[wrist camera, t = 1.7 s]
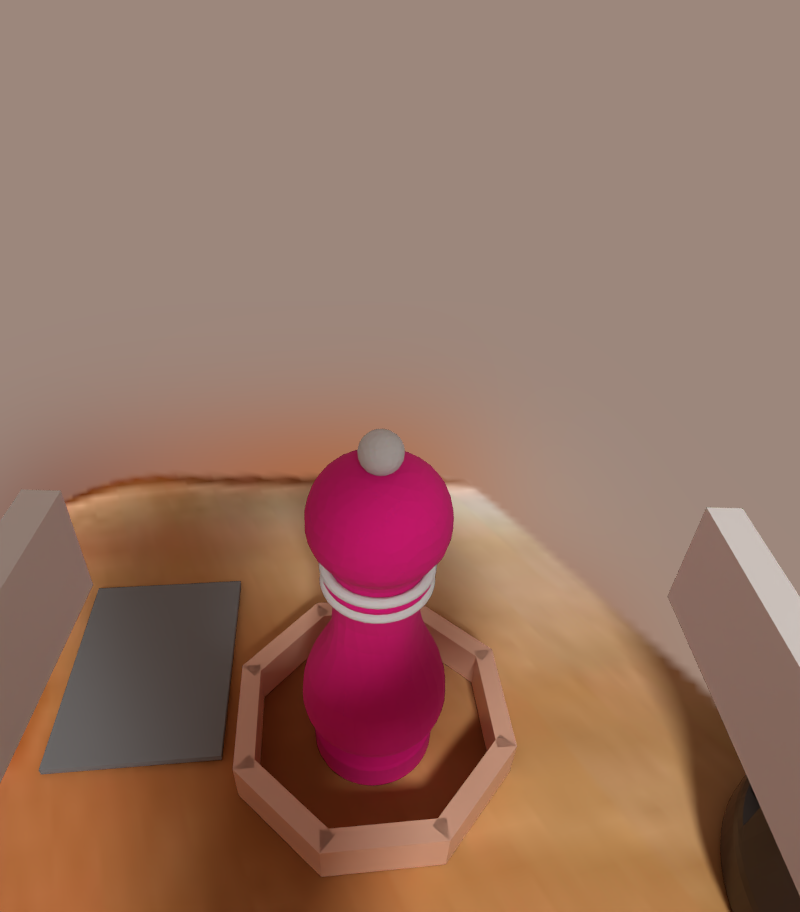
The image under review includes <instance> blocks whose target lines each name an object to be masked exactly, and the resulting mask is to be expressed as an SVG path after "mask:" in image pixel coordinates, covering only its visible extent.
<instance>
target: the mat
mask: <svg viewBox="0 0 800 912" xmlns="http://www.w3.org/2000/svg"><path fill="white" fill-rule="evenodd" d="M240 591H241V581H232V582H213V583H194V584H175V585H156V586H136V587H117V588H99V590H98V593H97V596H96V599H95V602H94V605H93V608H92V611H91V614H90V617H89V620H88V623H87V626H86V629H85V632H84V635H83V638H82V641H81V644H80V647H79V650H78V653H77V656H76V659H75V662H74V665H73V668H72V671H71V674H70V677H69V680H68V683H67V686H66V690H65V693H64V696H63V699H62V702H61V705H60V708H59V711H58V714H57V717H56V720H55V723H54V726H53V729H52V732H51V735H50V738H49V741H48V744H47V747H46V750H45V753H44V756H43V759H42V762H41V765H40V768H39V772H40V773H41V774H51V773H63V772H75V771H88V770H100V769H112V768H125V767H137V766H149V765H162V764H174V763H186V762H199V761H211V760H222V755H223V746H224V737H225V727H226V718H227V709H228V700H229V691H230V682H231V673H232V664H233V655H234V645H235V636H236V627H237V618H238V609H239V600H240Z"/></svg>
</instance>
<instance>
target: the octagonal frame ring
mask: <svg viewBox="0 0 800 912" xmlns="http://www.w3.org/2000/svg"><path fill="white" fill-rule="evenodd" d="M420 612H421V616H422V619H423V621H424V623H425V625H426V627H427V629H428V630H429V632H430V634H431V635H432V637H433V639H434V640H435V643H436V645H437V647H438V649H439V653H440V656H441V659H442V662H443V663H444V664H446V665H447V666H449V667H450V668H451V669H453V670H454V671H456V672H457V673H459V674H460V675H462V676H463V677H465V678H466V679H467V680H469V681H470V682H472V687H473V691H474V696H475V701H476V705H477V710H478V714H479V719H480V723H481V728H482V733H483V737H484V742H485V746H486V751H487V752H486V754H485V755H484V756H483V758H482V759H481V761H480V762H479V763H478V765H477V766H476V767H475V769H474V770H473V771H472V773H471V774H470V775H469V777H468V778H467V780H466V781H465V782H464V784H463V785H462V786H461V788H460V789H459V790H458V792H457V793H456V794H455V796H454V797H453V799H452V800H451V801H450V803H449V804H448V805H447V807H446V808H445V809H444V811H443V812H442V813H441V815H440V816H439V818H437V819H426V820H416V821H405V822H394V823H384V824H373V825H363V826H352V827H341V828H331V829H328V828H327V827H326V826H325V825H324V824H323V823H322V822H321V821H320V820H319V819H318V818H316V817H315V816H314V815H313V814H312V813H311V812H310V811H309V810H308V809H307V808H306V807H305V806H304V805H303V804H302V803H300V802H299V801H298V800H297V799H296V798H295V797H294V796H293V795H292V794H291V793H290V792H289V791H288V790H287V789H285V788H284V787H283V786H282V785H281V784H280V783H279V782H278V781H277V780H276V779H275V778H274V777H273V776H272V775H270V774H269V773H268V772H267V771H266V770H265V769H264V768H263V767H262V766H261V765H260V761H261V745H262V729H263V713H264V697H265V696H266V695H267V694H268V693H270V692H271V691H272V690H273V689H274V688H275V687H276V686H277V685H278V684H280V683H281V682H282V681H283V680H284V679H285V678H286V677H287V676H288V675H289V674H291V673H292V672H293V671H294V670H295V669H296V668H297V667H298V666H299V665H301V664H302V663H303V662H304V661H305V660H306V659H307V658H308V656H309V654H310V652H311V649H312V647H313V645H314V643H315V641H316V639H317V638H318V636H319V635H320V633H321V632H322V631H323V629H324V628H325V627H326V625H327V624H328V623H329V621H330V620H331V618H332V606H331V605H330V604H329V603H328V602H327V603H317V604H315V605H314V606H313V607H312V608H311V609H309V610H308V611H307V612H306V613H305V614H303V615H302V616H301V617H300V618H299V619H297V620H296V621H295V622H294V623H293V624H292V625H290V626H289V627H288V628H287V629H286V630H284V631H283V632H282V633H281V634H280V635H278V636H277V637H276V638H275V639H274V640H272V641H271V642H270V643H269V644H268V645H267V646H265V647H264V648H263V649H262V650H261V651H259V652H258V653H257V654H256V655H255V656H253V657H252V658H251V659H250V660H249V661H247V662H246V663H245V664H244V665H243V666H242V677H241V687H240V698H239V708H238V719H237V729H236V740H235V750H234V761H233V774H234V778H235V783H236V787H237V792H238V795H239V796H240V797H241V798H242V799H243V800H244V801H245V802H246V803H247V804H248V805H249V806H250V807H251V808H252V809H253V810H254V811H255V812H256V813H257V814H258V815H259V816H260V817H261V818H262V819H263V820H264V821H265V822H266V823H267V824H268V825H269V826H270V827H271V828H272V829H273V830H274V831H275V832H276V833H277V834H278V835H279V836H280V837H281V838H282V839H283V840H284V841H286V842H287V843H288V844H289V845H290V846H291V847H292V848H293V849H294V850H295V851H296V852H297V853H298V854H299V855H300V856H301V857H302V858H303V859H304V860H305V861H306V862H307V863H308V864H309V865H310V866H311V867H312V868H313V869H314V870H315V871H316V872H317V873H318V874H319V875H320V876H321V877H325V876H335V875H345V874H354V873H364V872H374V871H384V870H394V869H404V868H413V867H423V866H433V865H443V864H446V863H447V862H448V860H449V859H450V857H451V856H452V854H453V853H454V851H455V850H456V849H457V847H458V846H459V844H460V843H461V841H462V840H463V838H464V837H465V836H466V834H467V833H468V831H469V830H470V828H471V827H472V825H473V824H474V822H475V821H476V820H477V818H478V817H479V815H480V814H481V812H482V811H483V809H484V808H485V807H486V805H487V804H488V802H489V801H490V799H491V798H492V796H493V795H494V793H495V792H496V791H497V789H498V788H499V786H500V785H501V783H502V782H503V780H504V779H505V777H506V776H507V775H508V773H509V772H510V769H511V766H512V762H513V758H514V755H515V751H516V748H517V744H516V740H515V737H514V733H513V729H512V725H511V721H510V717H509V713H508V709H507V706H506V702H505V698H504V694H503V690H502V686H501V682H500V679H499V675H498V671H497V667H496V663H495V659H494V655H493V651H492V649H491V648H489V647H488V646H486V645H485V644H483V643H482V642H480V641H479V640H477V639H475V638H474V637H472V636H471V635H469V634H468V633H466V632H465V631H463V630H462V629H460V628H458V627H457V626H455V625H454V624H452V623H451V622H449V621H448V620H446V619H445V618H443V617H441V616H440V615H438V614H437V613H435V612H434V611H432V610H431V609H429V608H428V607H426V606H423V607H422V608H421V609H420Z"/></svg>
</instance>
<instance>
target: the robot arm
mask: <svg viewBox="0 0 800 912" xmlns="http://www.w3.org/2000/svg"><path fill="white" fill-rule="evenodd" d="M92 586H93V583H92V580H91V577H90V575H89V572H88V569H87V566H86V563H85V560H84V557H83V554H82V551H81V548H80V545H79V542H78V540H77V537H76V534H75V531H74V528H73V525H72V522H71V519H70V516H69V513H68V510H67V507H66V504H65V502H64V499H63V496H62V493H61V491H54V490H52V491H51V490H21V491H20V493H19V494H18V495H17V497H16V498H15V500H14V501H13V503H12V504H11V506H10V507H9V509H8V510H7V511H6V513H5V514H4V516H3V517H2V519H1V520H0V782H1V780H2V778H3V776H4V774H5V772H6V770H7V767H8V765H9V763H10V761H11V759H12V757H13V755H14V752H15V750H16V748H17V746H18V744H19V742H20V740H21V737H22V735H23V733H24V731H25V729H26V727H27V725H28V723H29V720H30V718H31V716H32V714H33V712H34V710H35V708H36V705H37V703H38V701H39V699H40V697H41V695H42V693H43V691H44V688H45V686H46V684H47V682H48V680H49V678H50V676H51V673H52V671H53V669H54V667H55V665H56V663H57V661H58V658H59V656H60V654H61V652H62V650H63V648H64V646H65V644H66V641H67V639H68V637H69V635H70V633H71V631H72V629H73V626H74V624H75V622H76V620H77V618H78V616H79V614H80V612H81V609H82V607H83V605H84V603H85V601H86V599H87V597H88V594H89V592H90V590H91V588H92ZM668 598H669V601H670V603H671V605H672V607H673V610H674V612H675V614H676V616H677V618H678V621H679V623H680V626H681V628H682V630H683V632H684V635H685V637H686V639H687V641H688V644H689V646H690V648H691V650H692V652H693V655H694V657H695V659H696V662H697V664H698V666H699V668H700V671H701V673H702V675H703V678H704V680H705V682H706V684H707V687H708V689H709V691H710V694H711V696H712V698H713V700H714V703H715V705H716V707H717V709H718V712H719V714H720V716H721V718H722V721H723V723H724V725H725V728H726V730H727V732H728V734H729V737H730V739H731V741H732V743H733V746H734V748H735V750H736V753H737V755H738V757H739V759H740V762H741V764H742V766H743V768H744V771H745V773H746V776H745V777H744V778H743V780H742V781H741V782H740V784H739V785H738V787H737V788H736V790H735V791H734V793H733V795H732V796H731V798H730V800H729V803H728V805H727V808H726V811H725V815H724V818H723V823H722V829H721V864H722V871H723V877H724V882H725V887H726V891H727V895H728V898H729V902H730V905H731V908H732V911H733V912H800V596H799V595H798V593H797V592H796V590H795V588H794V587H793V585H792V584H791V582H790V581H789V579H788V578H787V576H786V575H785V573H784V571H783V570H782V568H781V567H780V565H779V564H778V562H777V561H776V559H775V558H774V556H773V555H772V553H771V551H770V550H769V548H768V547H767V545H766V544H765V542H764V541H763V539H762V537H761V536H760V534H759V533H758V531H757V530H756V528H755V527H754V525H753V524H752V522H751V520H750V519H749V518H748V516H747V514H746V513H745V511H744V510H743V508H711V507H707V508H706V510H705V512H704V514H703V517H702V519H701V521H700V524H699V526H698V528H697V530H696V533H695V535H694V537H693V540H692V542H691V544H690V546H689V549H688V551H687V553H686V556H685V558H684V560H683V562H682V565H681V567H680V569H679V571H678V574H677V576H676V578H675V581H674V583H673V585H672V587H671V590H670V592H669V594H668Z"/></svg>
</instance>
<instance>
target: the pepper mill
mask: <svg viewBox="0 0 800 912" xmlns="http://www.w3.org/2000/svg"><path fill="white" fill-rule="evenodd" d="M453 521H454V516H453V507H452V502H451V497H450V494H449V492H448V489H447V487H446V484H445V482H444V481H443V480H442V478H441V477H440V475H439V474H438V473H437V472H436V471H435V470H434V469H433V468H432V466H431V465H429V464H428V463H427V462H425V461H424V460H422V459H421V458H419V457H417V456H415V455H413V454H411V453H409V452H405V450H404V445H403V442H402V440H401V439H400V437H399V436H398V435H397V434H395V433H393V432H392V431H390V430H387V429H376V430H373V431H370V432H369V433H367V434H366V435H365V436H364V437H363V438H362V439H361V441H360V443H359V446H358V450H355V451H352V452H349V453H347V454H344V455H342V456H340V457H339V458H337V459H336V460H334V461H333V462H331V463H330V464H329V465H327V467H326V468H325V469H324V470H323V471H322V472H321V473H320V474H319V476H318V477H317V478H316V480H315V482H314V483H313V485H312V487H311V490H310V492H309V495H308V498H307V502H306V506H305V534H306V538H307V542H308V545H309V547H310V549H311V551H312V553H313V554H314V556H315V558H316V559H317V561H318V562H319V571H320V579H319V580H320V587H321V590H322V592H323V595H324V597H325V598H326V600H327V601H328V603H329V604H330V605H331V606H332V618H331V620H330V621H329V623H328V624H327V625H326V627H325V628H324V629H323V631H322V632H321V633H320V635H319V636H318V638H317V639H316V641H315V643H314V645H313V647H312V649H311V652H310V654H309V656H308V659H307V662H306V666H305V670H304V680H303V699H304V704H305V708H306V711H307V714H308V716H309V719H310V721H311V723H312V724H313V726H314V727H315V732H316V741H317V746H318V749H319V752H320V754H321V756H322V757H323V759H324V760H325V762H326V763H327V765H328V766H329V767H330V768H331V769H332V770H333V771H334V772H335V773H337V774H338V775H339V776H341V777H343V778H344V779H346V780H349V781H351V782H354V783H357V784H363V785H383V784H387V783H391V782H394V781H396V780H398V779H400V778H402V777H404V776H405V775H407V774H408V773H409V772H411V771H412V770H413V769H414V768H415V767H416V766H417V765H418V764H419V762H420V761H421V759H422V758H423V756H424V754H425V752H426V749H427V747H428V743H429V738H430V731H431V729H432V728H433V726H434V725H435V723H436V722H437V719H438V717H439V715H440V713H441V710H442V707H443V703H444V697H445V674H444V666H443V663H442V659H441V656H440V653H439V649H438V647H437V645H436V643H435V640H434V639H433V637H432V635H431V634H430V632H429V630H428V629H427V627H426V625H425V623H424V621H423V619H422V616H421V612H420V609H421V608H422V607H423V606H424V605H425V604H426V603H427V601H428V600H429V598H430V597H431V595H432V592H433V589H434V585H435V574H436V568H437V564H438V563H439V562H440V561H441V559H442V558H443V556H444V554H445V552H446V550H447V547H448V545H449V543H450V541H451V536H452V532H453Z"/></svg>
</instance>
